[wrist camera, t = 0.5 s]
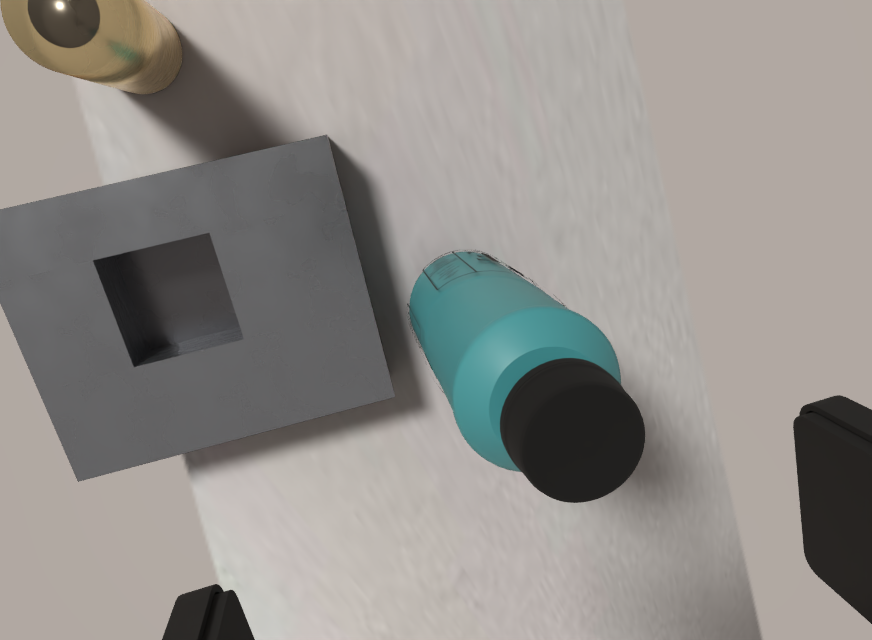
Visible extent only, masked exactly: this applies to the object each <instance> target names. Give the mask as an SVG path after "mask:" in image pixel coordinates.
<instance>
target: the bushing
mask: <svg viewBox="0 0 872 640" xmlns="http://www.w3.org/2000/svg"><path fill="white" fill-rule="evenodd" d="M0 1H1V11H2V17H3V20H4V23H5V26H6V28H7V30H8V32H9V34H10V36H11V37H12V39H13V40H14V42H15V43H16V45H17V46H18V47H19V48H20V49H21V50H22V51H23V52H24V53H25V54H26V55H27V56H28V57H29V58H30V59H32V60H33V61H35V62H36V63H38V64H39V65H41V66H43V67H45V68H47V69H50V70H52V71H55V72H59V73H63V74H66V75H70V76H73V77H77V78H81V79H84V80H88V81H91V82H95V83H99V84H102V85H106V86H109V87H113V88H117V89H120V90H124V91H128V92H131V93H135V94H151V93H155V92H158V91H160V90H163V89H164V88H166V87H167V86H168V85H170V84H171V83H172V82H173V80H174V79H175V78H176V76H177V75H178V72H179V70H180V67H181V63H182V46H181V42H180V39H179V36H178V34H177V32H176V30H175V28H174V27H173V25H172V24H171V23H170V22H169V20H168V19H167V18H166V17H165V16H163V15H162V14H161V13H160V12H158V11H157V10H156V9H155V8H153V7H152V6H151V5H150V4H148V3H147V2H146V1H144V0H0Z"/></svg>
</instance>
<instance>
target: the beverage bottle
mask: <svg viewBox="0 0 872 640" xmlns="http://www.w3.org/2000/svg"><path fill="white" fill-rule="evenodd" d="M457 251H458V250H457ZM478 252H479V251H478V250H477V251H476V253H475V252H457V253H454V252H453V251H452V254H449V255H446V256H443V257H441V258H439V259H437V258H436V259H437V260H436V261H434V260H435V259H434V260H433V261H434V262H433V263H431V262H430V263H431V264H430V265H429V266H428V267H427V268H426V269H425V270H424V269H423V272H422V274H421V275H420V276H419V278H418V280H417V281H416V283H415V285H414V287H413V290H412V293H411V298H410V306H409V305H408V304H407V305H408V306H409V312H410V323H412V326H413V330H414V331H415V332H414V333H416V335H417V337H416V338H418V342H420V344H421V347H422V348H423V349H422V350H424V352H425V356H426V358H427V360H428V362H429V364H430V366H431V367H430V368H431V369H432V370H433V372H434V374H435V376H436V377H437V379H438V381H439V382H440V385H441V386H442V388H443V391H444V392H443V391H442V392H443V393H444V394H445V395H446V397H447V399H448V401H449V403H450V405H451V408H452V410H453V413H454V417H455V420H456V423H457V425H458V427H459V429H460V431H461V434H462V435H463V437H464V438H465V440H466V441H467V443H468V444H469V445H470V446H471V447H472V449H473V450H474V451H476V452H477V453H478V454H479V455H480V456H481V457H483V458H484V459H486V460H487V461H489V462H491V463H493V464H495V465H497V466H499V467H502V468H505V469H508V470H513V471H518V472H523V473H524V475H525V476H526V477H527V479H528V480H529V481H530V482H531V483H532V485H533V486H534V487H536V488H537V489H538V490H539V491H541V492H542V493H544V494H545V495H547V496H549V497H551V498H553V499H556V500H559V501H563V502H572V503H578V502H587V501H592V500H595V499H598V498H601V497H603V496H605V495H607V494H609V493H611V492H613V491H614V490H615V489H617V488H618V487H619V486H621V485H622V484H623V483H624V482H625V481H626V480H627V479H628V478H629V477H630V475H631V474H632V473H633V471H634V470H635V468H636V466H637V464H638V462H639V460H640V458H641V455H642V452H643V448H644V443H645V427H644V422H643V419H642V416H641V413H640V411H639V409H638V407H637V405H636V404H635V402H634V401H633V400H632V398H631V397H630V396H629V395H628V394H627V393H626V392H625V391H624V389H623V387H622V386H621V377H620V369H619V364H618V360H617V357H616V354H615V351H614V349H613V347H612V345H611V343H610V342H609V340H608V339H607V337H606V336H605V335H604V334H603V332H602V331H601V330H600V329H599V328H598V327H597V326H595V325H594V324H593V323H592V322H591V321H589V320H588V319H587V318H585V317H583V316H582V315H580V314H578V313H576V312H573V311H571V310H569V309H567V307H565V306H564V305H562V304H563V303H562V304H560V303H559V302H557V301H556V300H554V299H553V298H551V297H550V296H549V295H547V294H546V293H545V292H544V291H542V290H541V289H539V288H538V287H536V286H534V285H533V284H531V283H530V282H528V281H527V280H525V279H523V278H522V277H520V276H519V275H517V274H516V273H515V272H512V271H511V270H509V269H508V268H509V267H510V266H509V267H508V268H506V267H505V266H503V265H501V264H500V262H499V263H498V261H497V260H495V259H494V258H492V257H490V256H489V255H487V254H488V253H486V254H484V253H483V252H482V251H481V252H482V253H481V254H479V253H478ZM449 253H450V252H449ZM446 254H447V253H446ZM444 255H445V254H444ZM441 256H442V255H441ZM496 259H497V258H496ZM500 261H501V260H500ZM501 262H502V261H501ZM506 265H507V264H506ZM510 268H511V267H510ZM511 269H513V268H511ZM513 270H514V271H516V270H515V269H513ZM516 272H517V273H519V274H521V275H522V276H523V274H522V273H520V272H518V271H516ZM529 279H530V278H529ZM530 281H531V280H530ZM532 282H533V280H532ZM534 284H535V283H534ZM554 296H555V295H554ZM555 297H556V296H555ZM556 298H557V297H556ZM557 299H558V298H557ZM409 312H408V315H409ZM407 318H408V317H407ZM412 326H411V327H412ZM411 327H410V329H412V328H411ZM411 331H412V330H411ZM412 333H413V332H412ZM413 335H414V334H413ZM414 338H415V336H414ZM416 340H417V339H416ZM416 342H417V341H416ZM418 342H417V343H418ZM418 344H419V343H418ZM418 344H417V345H418ZM420 344H419V345H420ZM421 347H420V346H419V348H421ZM423 356H424V355H423ZM424 359H425V358H424ZM425 362H426V361H425ZM426 365H427V364H426ZM436 384H437V383H436ZM439 388H440V387H439Z"/></svg>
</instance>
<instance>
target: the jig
mask: <svg viewBox="0 0 872 640" xmlns="http://www.w3.org/2000/svg"><path fill="white" fill-rule="evenodd" d="M0 304H1V306H2V308H3V310H4V313H5V315H6V317H7V319H8V322H9V324H10V326H11V329H12V331H13V333H14V336H15V338H16V340H17V343H18V345H19V347H20V349H21V352H22V354H23V356H24V359H25V361H26V363H27V366H28V368H29V370H30V372H31V375H32V377H33V379H34V382H35V384H36V386H37V388H38V391H39V393H40V395H41V398H42V400H43V402H44V404H45V407H46V409H47V412H48V414H49V416H50V418H51V421H52V423H53V425H54V427H55V430H56V432H57V434H58V437H59V439H60V441H61V443H62V446H63V448H64V450H65V453H66V455H67V457H68V460H69V462H70V464H71V466H72V469H73V471H74V474H75V476H76V478H77V480H78V482H79V481H82V480H86V479H90V478H94V477H97V476H101V475H105V474H109V473H112V472H116V471H120V470H124V469H127V468H131V467H135V466H139V465H142V464H146V463H150V462H153V461H157V460H161V459H165V458H169V457H172V456H175V455H180V454H183V453H187V452H191V451H195V450H198V449H202V448H206V447H210V446H213V445H217V444H221V443H225V442H228V441H232V440H236V439H240V438H243V437H247V436H251V435H255V434H258V433H262V432H266V431H270V430H273V429H277V428H281V427H285V426H288V425H292V424H296V423H299V422H303V421H307V420H311V419H314V418H318V417H322V416H326V415H329V414H333V413H337V412H341V411H344V410H348V409H352V408H356V407H359V406H363V405H367V404H371V403H374V402H378V401H382V400H386V399H389V398H393V397H395V394H394V390H393V386H392V382H391V378H390V374H389V370H388V366H387V362H386V358H385V354H384V351H383V347H382V343H381V339H380V335H379V331H378V327H377V324H376V320H375V316H374V312H373V308H372V304H371V301H370V297H369V293H368V289H367V285H366V281H365V277H364V274H363V270H362V266H361V262H360V258H359V254H358V251H357V247H356V243H355V239H354V235H353V231H352V227H351V224H350V220H349V216H348V212H347V208H346V204H345V201H344V197H343V193H342V189H341V185H340V181H339V177H338V174H337V170H336V166H335V162H334V158H333V154H332V150H331V147H330V143H329V139H328V136H327V135H324V136H319V137H315V138H311V139H306V140H302V141H298V142H293V143H289V144H284V145H280V146H276V147H271V148H267V149H263V150H258V151H254V152H250V153H245V154H241V155H236V156H232V157H228V158H223V159H219V160H215V161H210V162H206V163H201V164H197V165H193V166H188V167H184V168H180V169H175V170H171V171H167V172H162V173H158V174H153V175H149V176H145V177H140V178H136V179H132V180H127V181H123V182H118V183H114V184H110V185H105V186H102V187H97V188H92V189H88V190H84V191H79V192H75V193H71V194H66V195H62V196H57V197H53V198H49V199H44V200H40V201H36V202H31V203H27V204H22V205H19V206H14V207H9V208H5V209H0Z"/></svg>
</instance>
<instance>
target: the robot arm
mask: <svg viewBox="0 0 872 640" xmlns="http://www.w3.org/2000/svg"><path fill="white" fill-rule="evenodd" d="M793 428H794V439H795V452H796V463H797V475H798V486H799V498H800V509H801V522H802V533H803V544H804V553H805V557H806V560H807V562H808V564H809V566H810V567H811V569H812V570H813V571H814V572H815V574H816V575H817V576H818V577H820V579H822V580H823V581H824V582H825V583H826V584H827V585H828V586H829V587H831V588H832V589H833V590H834V591H835V592H836V593H837V594H839V595H840V596H841V597H842V598H843V599H844V600H845V601H847V602H848V603H849V604H850V605H851V606H852V607H853V608H855V609H856V610H857V611H858V612H859V613H860V614H861V615H862V616H864V617H865V618H866V619H867V620H868V621H869V622H870V623H871V624H872V410H871V409H869V408H867V407H865V406H863V405H861V404H858V403H856V402H854V401H852V400H850V399H848V398H846V397H843V396H833V397H830V398H827V399H824V400H820V401H817V402H814V403H810V404H807V405H805V406H803V407H802V408H801V411H800V416H798V417H797V418H795V420H794V427H793ZM162 640H255V639H254V637H253V634H252V632H251V629H250V627H249V624H248V622H247V619H246V617H245V614H244V612H243V609H242V607H241V604H240V602H239V599H238V597H237V595H236V593H235V592H234V591H233V590H229V591H225V592H224V591H223V589H222V588H221V587H220V586H219V585H217V584H215V585H211V586H208V587H205V588H202V589H198V590H195V591H192V592H188V593H185V594H182V595H180V596H178V598H177V600H176V602H175V605H174V607H173V610H172V613H171V616H170V619H169V622H168V624H167V627H166V630H165V633H164V636H163V639H162Z"/></svg>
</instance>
